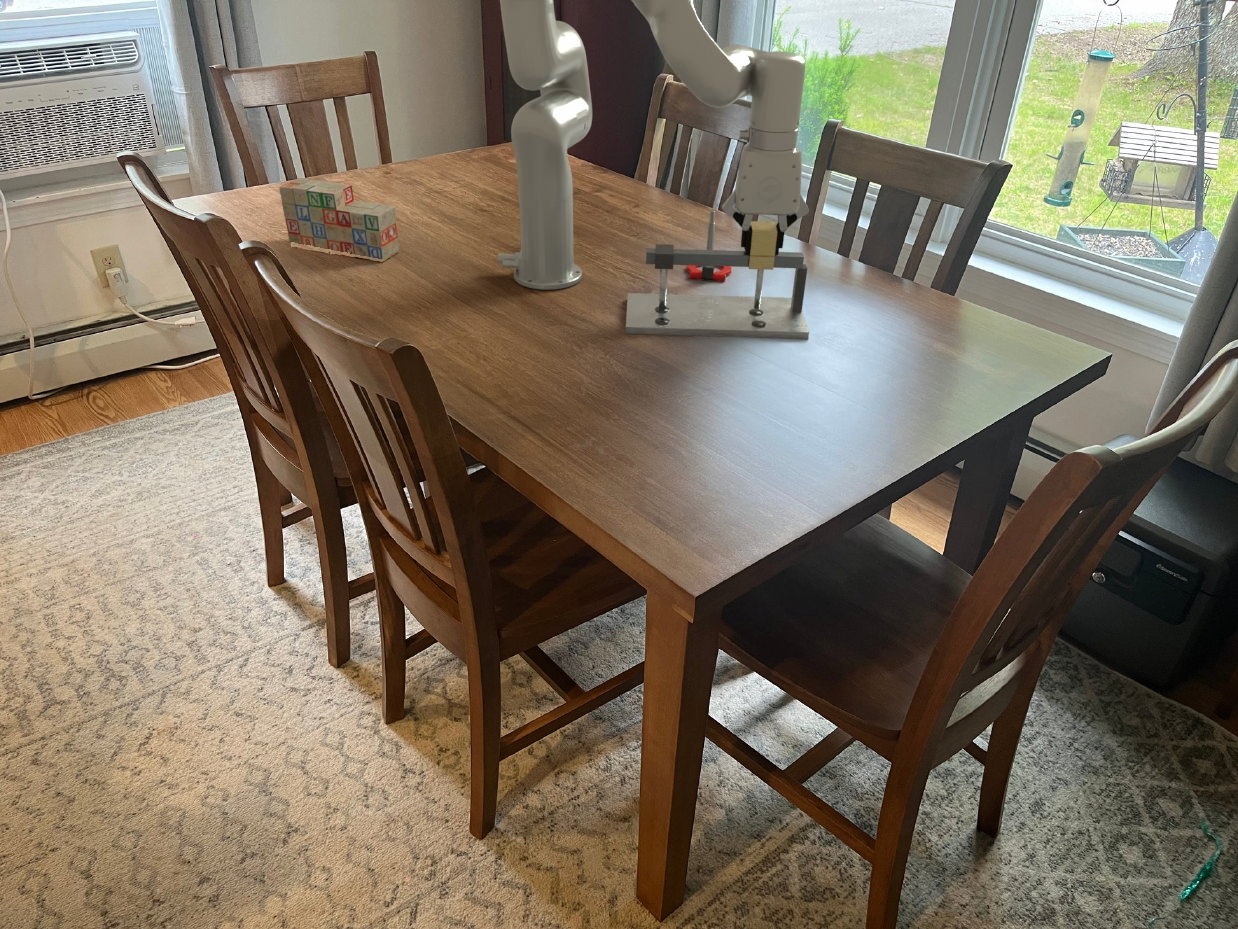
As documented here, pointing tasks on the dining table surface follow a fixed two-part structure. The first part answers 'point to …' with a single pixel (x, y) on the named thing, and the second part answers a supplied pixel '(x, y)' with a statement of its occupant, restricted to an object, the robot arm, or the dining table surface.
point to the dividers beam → (669, 256)
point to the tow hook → (708, 271)
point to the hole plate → (714, 316)
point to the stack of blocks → (337, 219)
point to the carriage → (762, 252)
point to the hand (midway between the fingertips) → (761, 250)
